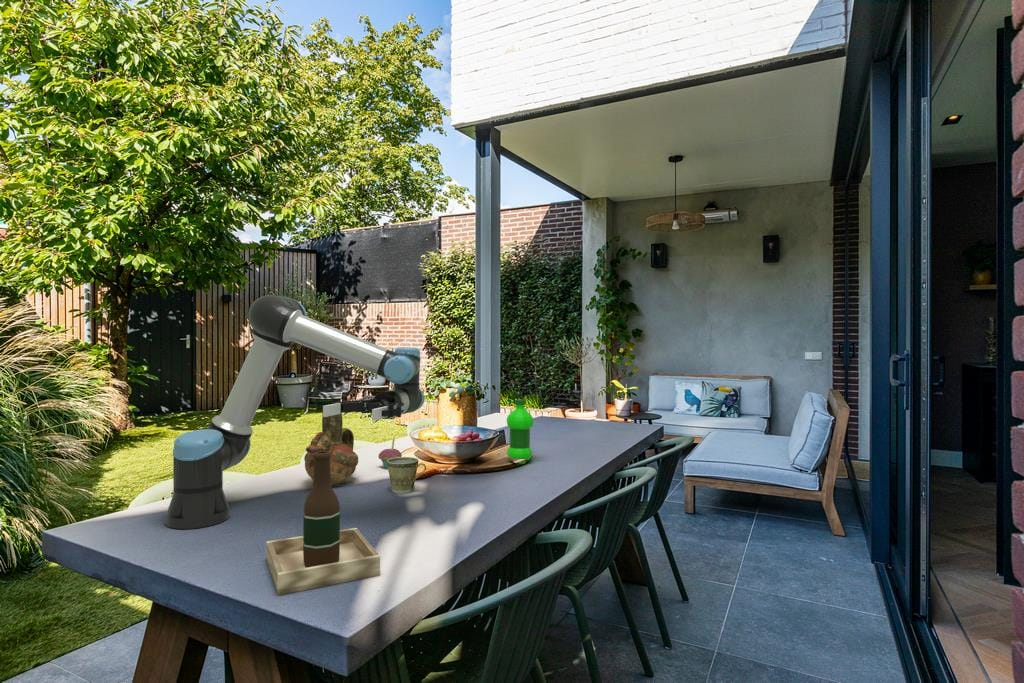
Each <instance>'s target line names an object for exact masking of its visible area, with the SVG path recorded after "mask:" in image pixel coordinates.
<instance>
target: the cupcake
mask: <svg viewBox="0 0 1024 683" xmlns="http://www.w3.org/2000/svg"><path fill="white" fill-rule="evenodd" d="M394 447H395V437H393V438H392V444H391V448H386V449H383V450H382V451H380V452H379V453H378V459H379V460H381V462H382V465H383V466H382V467H383V468H384V469H387V470H388V466H387V460H388V459H391V458H396V457H403V456H402V452H401V451H399V449H397V448H394Z"/></svg>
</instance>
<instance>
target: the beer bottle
mask: <svg viewBox="0 0 1024 683" xmlns="http://www.w3.org/2000/svg"><path fill="white" fill-rule="evenodd" d="M313 458H314V459H315V462H314V476H313V479H312V486H311V490H310V491H309V493H308V494H307V496H306V498H305V500H304V503H303V524H302V526H303V530H302V531H303V533H302V534H303V535H302V536H303V558H304V564H305V567H307V568H308V567H313V566H319V565H324V564H330V563H336V562H338V561H339V553H340V530H341V528H340V527H341V526H340V524H341V521H340V520H341V509H340V507H341V506H340V502H339V498H338V496H337V494H336V493H335V490H334V489H333V486H332V484H331V476H330V458H331V455H330V452H328V451H318V452H315V453H314V456H313Z"/></svg>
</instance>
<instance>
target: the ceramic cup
mask: <svg viewBox="0 0 1024 683" xmlns="http://www.w3.org/2000/svg"><path fill="white" fill-rule="evenodd" d="M387 466H388V469H387V472H388V476H389V481H390V483H389V484H390V489H391V492H393V493H394V494H401V495H403V494H409V493H410V494H411V493H412V492H414V487H415V482H416V480H417V479H418V478H419V477H420V476H421V475H422V474H423V473H425V471H426V470H427V466H426V464H425V463H424V462H423V463H422V462H420V463H419V458H416V457H413V456H412V457H411V456H401V457H396V458H391V459H388V460H387ZM420 466H423V467H424V470H423V471H421V472H420V473H419V474H418V475H417V472H418V468H419V467H420Z"/></svg>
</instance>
